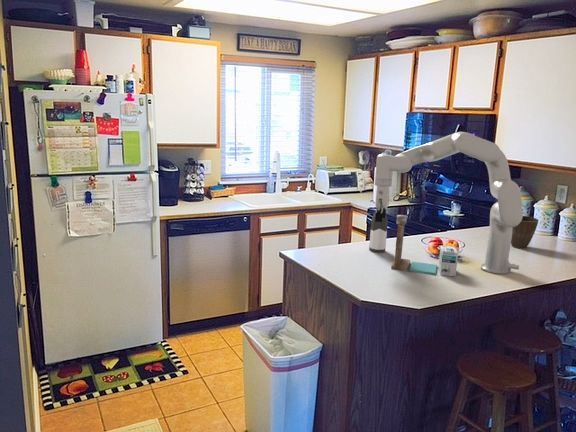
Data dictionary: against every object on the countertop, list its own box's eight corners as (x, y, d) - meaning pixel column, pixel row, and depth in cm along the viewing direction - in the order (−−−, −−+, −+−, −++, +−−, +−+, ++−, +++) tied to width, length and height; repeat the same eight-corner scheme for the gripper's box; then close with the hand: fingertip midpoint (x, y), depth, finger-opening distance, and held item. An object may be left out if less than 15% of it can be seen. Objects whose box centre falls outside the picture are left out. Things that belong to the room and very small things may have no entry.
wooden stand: (409, 262, 231) (414, 214, 226) (407, 270, 219) (412, 219, 214) (394, 260, 233) (398, 212, 228) (390, 268, 221) (395, 218, 216)
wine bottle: (384, 248, 253) (389, 190, 246) (385, 253, 245) (391, 193, 238) (368, 247, 253) (373, 189, 247) (369, 252, 246) (374, 192, 239)
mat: (436, 266, 227) (436, 264, 227) (435, 274, 215) (435, 273, 215) (412, 263, 230) (412, 261, 230) (409, 271, 218) (409, 269, 218)
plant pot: (539, 251, 261) (544, 221, 258) (511, 250, 261) (515, 220, 258) (526, 244, 276) (530, 215, 272) (499, 242, 276) (503, 214, 272)
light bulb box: (455, 276, 214) (458, 252, 212) (439, 275, 215) (442, 251, 213) (453, 269, 224) (455, 246, 222) (437, 267, 225) (440, 244, 223)
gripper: (389, 185, 212) (385, 224, 216) (394, 180, 228) (391, 217, 232) (371, 184, 214) (368, 222, 218) (377, 179, 230) (375, 215, 234)
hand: (380, 219), depth 225 cm, fingers open, 9 cm apart
